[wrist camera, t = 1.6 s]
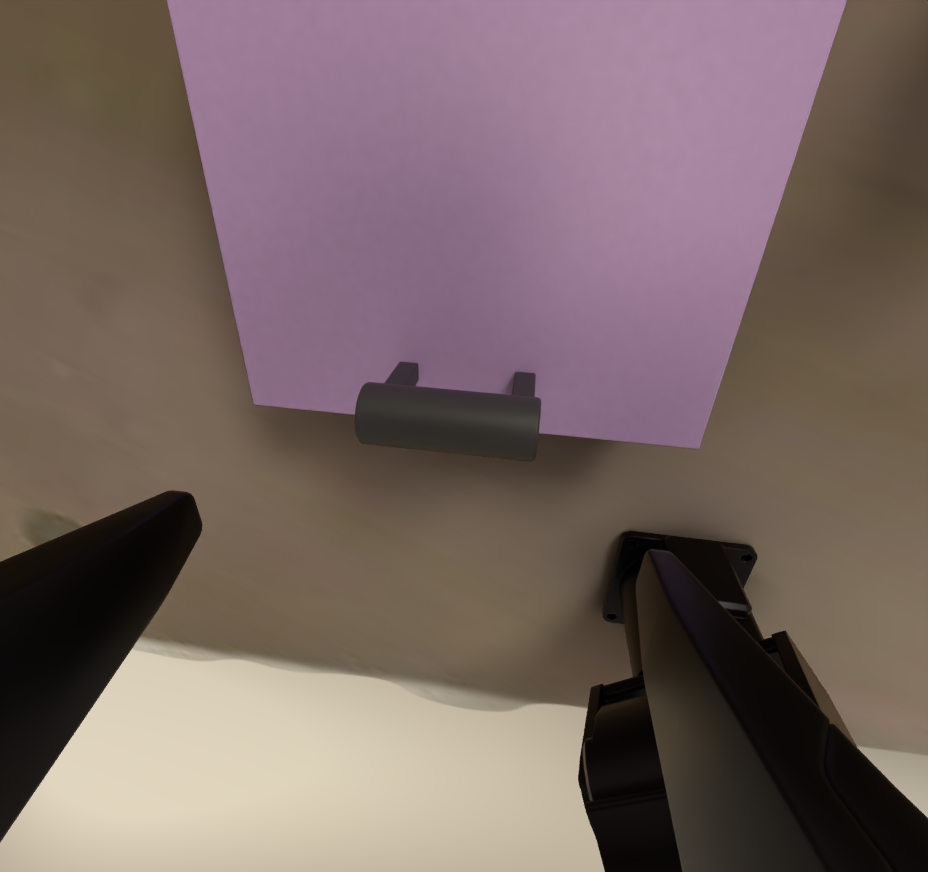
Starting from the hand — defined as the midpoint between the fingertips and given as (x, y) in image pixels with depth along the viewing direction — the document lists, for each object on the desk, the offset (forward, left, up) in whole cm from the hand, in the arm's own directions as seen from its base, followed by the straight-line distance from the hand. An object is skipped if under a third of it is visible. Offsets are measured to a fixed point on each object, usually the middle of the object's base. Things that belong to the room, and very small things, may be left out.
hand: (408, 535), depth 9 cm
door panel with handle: (+5, 0, -9) cm, 10 cm away
